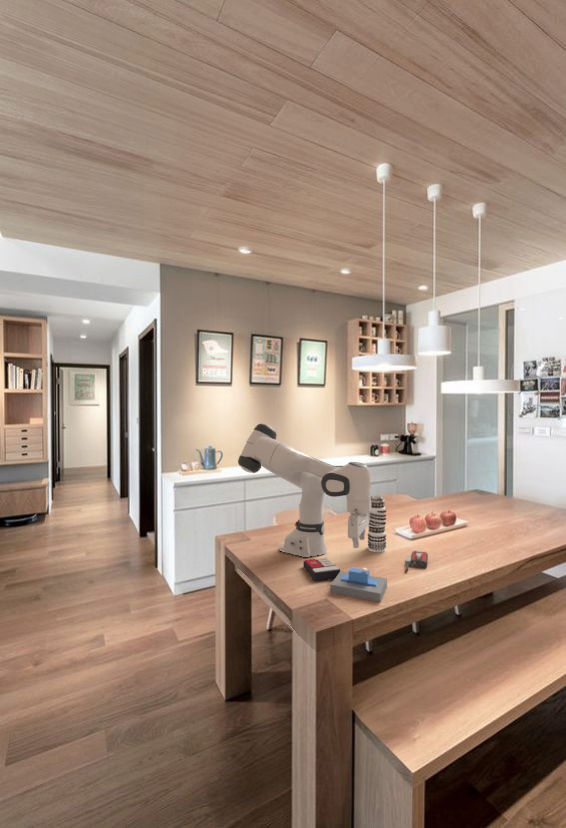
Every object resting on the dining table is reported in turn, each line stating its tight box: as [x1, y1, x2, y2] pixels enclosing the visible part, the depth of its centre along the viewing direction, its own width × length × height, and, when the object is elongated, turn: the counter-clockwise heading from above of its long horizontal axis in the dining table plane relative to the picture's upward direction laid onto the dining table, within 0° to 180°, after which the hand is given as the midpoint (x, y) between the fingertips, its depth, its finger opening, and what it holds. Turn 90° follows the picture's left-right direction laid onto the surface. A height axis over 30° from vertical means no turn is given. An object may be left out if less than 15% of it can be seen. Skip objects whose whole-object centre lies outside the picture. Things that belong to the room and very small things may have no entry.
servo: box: [341, 567, 378, 586], centre depth 145 cm, size 13×4×8 cm, turn 66°
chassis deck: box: [330, 570, 388, 603], centre depth 145 cm, size 18×13×3 cm
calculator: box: [302, 557, 341, 583], centre depth 161 cm, size 11×4×15 cm
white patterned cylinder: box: [367, 495, 387, 553], centre depth 186 cm, size 9×9×25 cm
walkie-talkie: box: [404, 550, 429, 572], centre depth 167 cm, size 9×4×20 cm
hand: (359, 543), depth 145 cm, fingers open, 8 cm apart
